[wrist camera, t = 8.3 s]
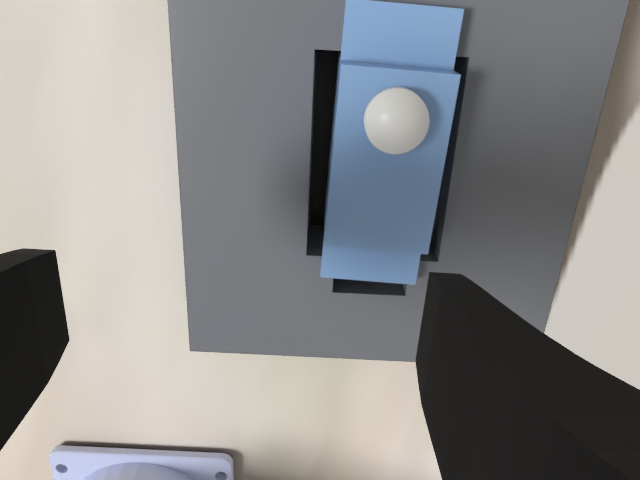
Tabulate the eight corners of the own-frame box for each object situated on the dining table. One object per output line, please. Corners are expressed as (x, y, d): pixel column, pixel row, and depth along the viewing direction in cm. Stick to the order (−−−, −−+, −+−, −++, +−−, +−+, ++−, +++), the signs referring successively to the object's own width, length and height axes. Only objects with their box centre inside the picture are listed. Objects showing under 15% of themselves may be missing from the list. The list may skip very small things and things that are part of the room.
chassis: (513, 327, 21) (535, 367, 19) (205, 312, 21) (189, 351, 19) (607, -90, 15) (656, -105, 13) (184, -112, 15) (159, -130, 13)
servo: (403, 243, 20) (422, 310, 16) (321, 236, 20) (319, 302, 16) (441, 6, 17) (479, 10, 12) (343, -3, 17) (348, -2, 12)
